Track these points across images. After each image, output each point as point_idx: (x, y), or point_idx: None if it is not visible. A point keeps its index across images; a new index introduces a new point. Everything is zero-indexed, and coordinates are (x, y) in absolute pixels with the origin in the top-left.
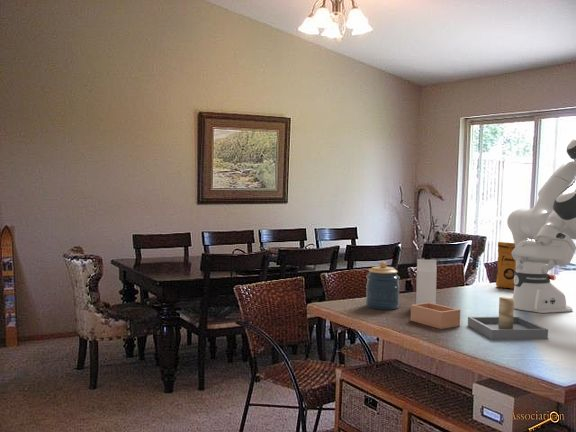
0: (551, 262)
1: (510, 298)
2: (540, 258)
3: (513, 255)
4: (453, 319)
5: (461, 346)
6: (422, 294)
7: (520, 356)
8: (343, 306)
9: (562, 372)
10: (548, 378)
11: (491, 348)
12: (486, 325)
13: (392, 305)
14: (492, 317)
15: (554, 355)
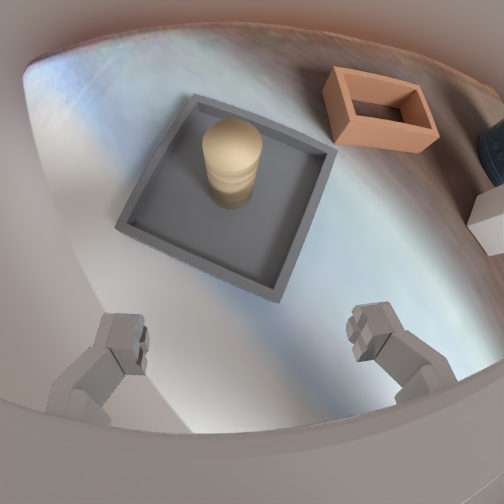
0: (56, 385)
1: (222, 152)
2: (198, 435)
3: (496, 363)
4: (336, 113)
5: (196, 42)
6: (498, 193)
7: (97, 83)
8: (492, 115)
9: (34, 91)
10: (43, 64)
11: (155, 70)
12: (234, 112)
13: (483, 151)
14: (307, 208)
15: (60, 137)
